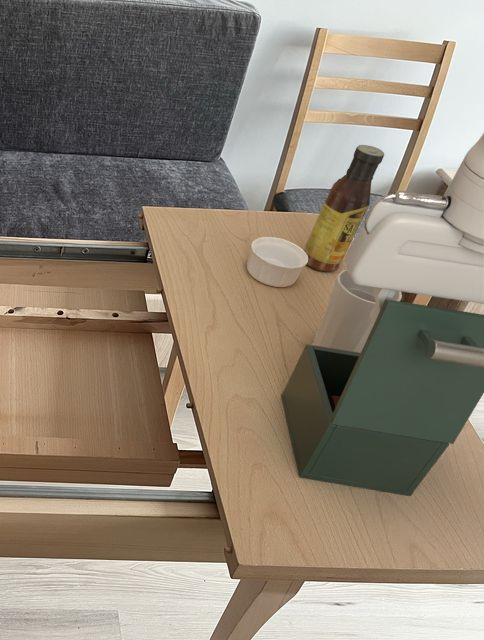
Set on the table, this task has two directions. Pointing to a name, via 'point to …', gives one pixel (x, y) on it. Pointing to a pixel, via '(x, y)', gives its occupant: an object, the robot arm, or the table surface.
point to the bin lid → (416, 373)
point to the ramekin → (276, 261)
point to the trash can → (347, 432)
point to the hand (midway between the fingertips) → (426, 328)
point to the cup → (348, 315)
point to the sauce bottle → (343, 211)
